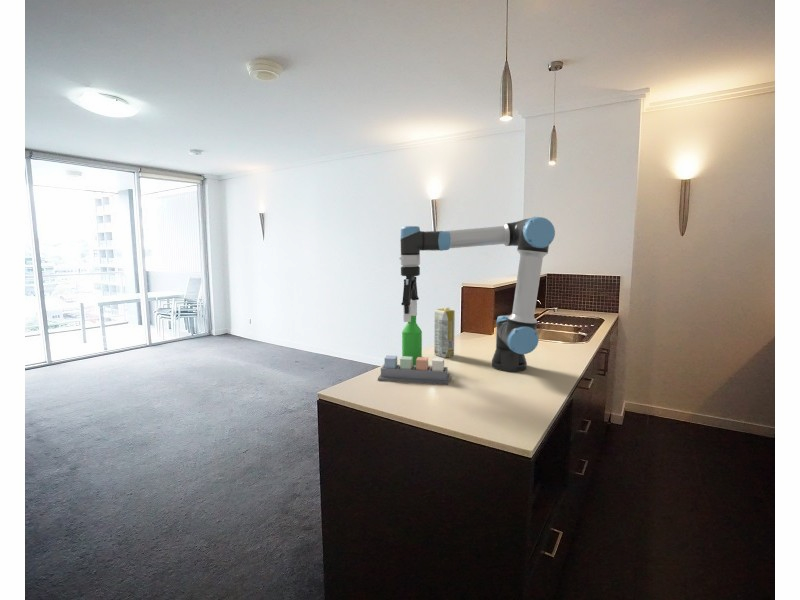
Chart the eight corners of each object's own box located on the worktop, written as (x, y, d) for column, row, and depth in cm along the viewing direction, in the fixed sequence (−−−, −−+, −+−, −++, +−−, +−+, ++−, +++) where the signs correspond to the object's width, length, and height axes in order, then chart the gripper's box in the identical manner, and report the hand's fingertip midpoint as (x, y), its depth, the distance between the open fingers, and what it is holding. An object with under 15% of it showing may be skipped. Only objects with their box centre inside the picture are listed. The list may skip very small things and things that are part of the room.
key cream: (444, 370, 165) (444, 358, 164) (443, 373, 161) (443, 361, 160) (433, 369, 166) (433, 357, 165) (432, 372, 162) (432, 360, 161)
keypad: (449, 375, 168) (449, 365, 168) (447, 384, 158) (447, 373, 157) (384, 372, 174) (384, 362, 173) (377, 380, 163) (377, 370, 163)
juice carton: (456, 356, 197) (457, 307, 194) (444, 359, 193) (444, 309, 190) (444, 352, 205) (444, 305, 202) (431, 354, 201) (432, 306, 197)
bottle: (420, 368, 179) (420, 312, 175) (400, 367, 181) (400, 312, 177) (422, 362, 187) (423, 309, 184) (404, 361, 189) (404, 308, 186)
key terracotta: (428, 369, 166) (428, 357, 166) (426, 372, 162) (426, 360, 161) (417, 368, 167) (417, 356, 167) (416, 371, 163) (416, 359, 162)
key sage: (412, 368, 168) (412, 356, 167) (410, 371, 163) (410, 359, 163) (402, 367, 169) (402, 356, 168) (400, 371, 164) (400, 359, 164)
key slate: (397, 367, 169) (397, 355, 168) (395, 370, 165) (395, 358, 164) (387, 367, 170) (386, 355, 169) (384, 370, 166) (384, 358, 165)
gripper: (407, 264, 173) (407, 313, 176) (393, 267, 149) (394, 324, 152) (424, 264, 172) (424, 313, 175) (413, 267, 148) (414, 324, 151)
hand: (410, 318), depth 163 cm, fingers open, 13 cm apart
